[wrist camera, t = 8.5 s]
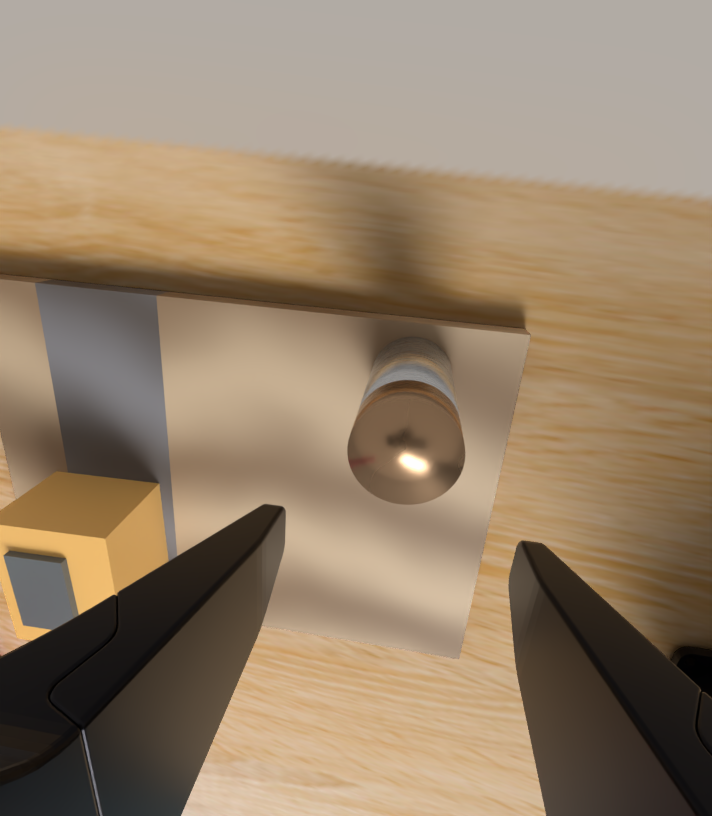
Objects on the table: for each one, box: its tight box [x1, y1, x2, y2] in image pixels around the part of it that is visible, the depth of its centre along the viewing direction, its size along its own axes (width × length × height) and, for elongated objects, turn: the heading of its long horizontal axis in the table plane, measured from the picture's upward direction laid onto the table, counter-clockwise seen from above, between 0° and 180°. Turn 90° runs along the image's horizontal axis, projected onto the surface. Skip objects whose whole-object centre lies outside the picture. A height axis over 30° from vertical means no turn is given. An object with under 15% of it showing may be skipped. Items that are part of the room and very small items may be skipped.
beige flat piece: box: [0, 274, 531, 659], centre depth 22 cm, size 16×22×1 cm
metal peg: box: [347, 337, 465, 505], centre depth 15 cm, size 3×3×6 cm
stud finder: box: [0, 471, 169, 640], centre depth 21 cm, size 6×5×4 cm
